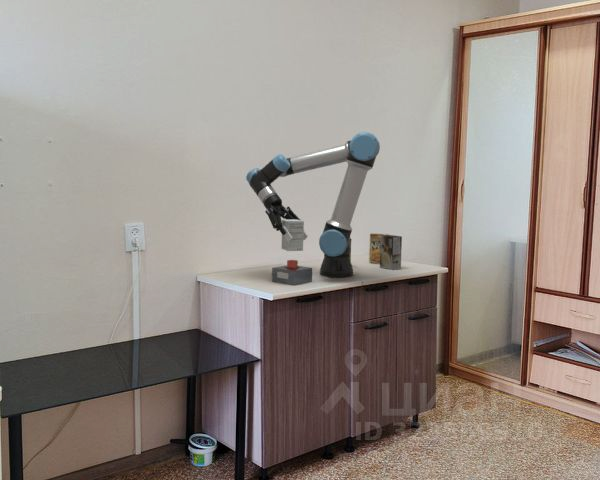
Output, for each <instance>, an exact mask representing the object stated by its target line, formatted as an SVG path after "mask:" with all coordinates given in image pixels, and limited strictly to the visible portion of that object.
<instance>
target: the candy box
mask: <svg viewBox="0 0 600 480" xmlns="http://www.w3.org/2000/svg"><path fill="white" fill-rule="evenodd" d="M381 235H390V234H389V233H377V232H376V233H374V232H373V233H372V232H371V233H370V234H369V253H368V263H369V262H372V263H371V264H377V263H380V237H381Z"/></svg>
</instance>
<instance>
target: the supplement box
mask: <svg viewBox="0 0 600 480" xmlns="http://www.w3.org/2000/svg"><path fill="white" fill-rule="evenodd" d="M281 221H282V227H283V226H285V227H286V229H287V230H288V232H289V233H290V235H291V236H292V237H293V238H292V239H291V240H290V242H287V240H286V239H285V237H284V236H283V235H282V234H281V249H282V250H284V251H286V252H303V251H304V240H303V233H304V231H305V229H304V227H305V224H304V223H305V222H304V220H301V219H300V220H297V219H290V220H286V219H281Z"/></svg>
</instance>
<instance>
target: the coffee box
mask: <svg viewBox="0 0 600 480" xmlns="http://www.w3.org/2000/svg"><path fill="white" fill-rule="evenodd" d="M402 240H403V236H400V235H393V234H389V235H381V237H380V264H379V268H380V267H382V268H381V269H385V268H387V269H386V270H391V269H392V271H394V269H396V270H401V269H402V243H403V241H402Z"/></svg>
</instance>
